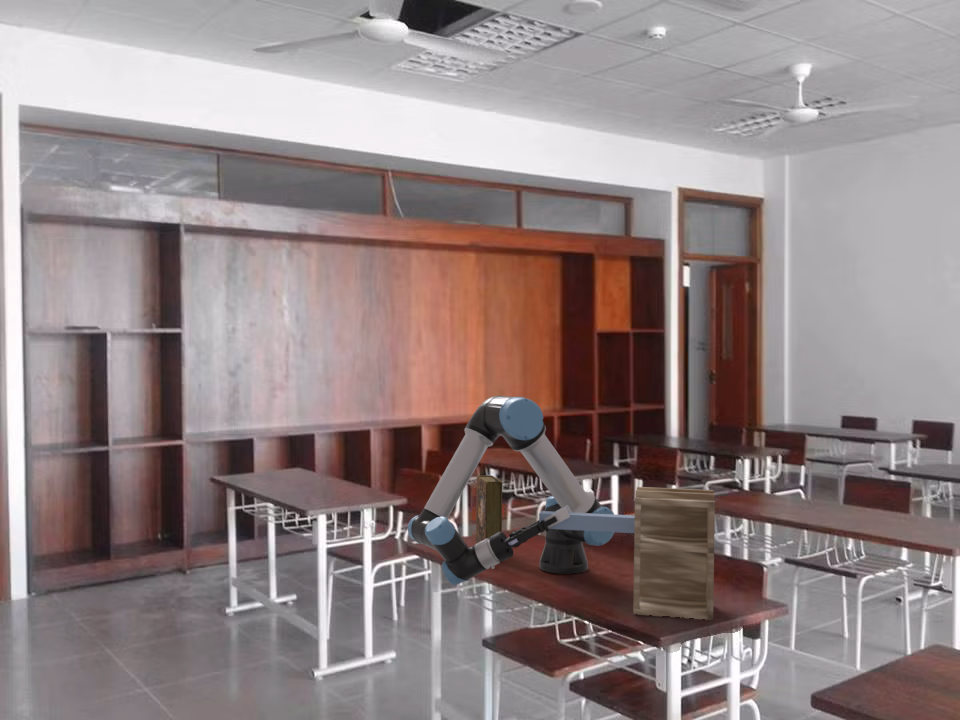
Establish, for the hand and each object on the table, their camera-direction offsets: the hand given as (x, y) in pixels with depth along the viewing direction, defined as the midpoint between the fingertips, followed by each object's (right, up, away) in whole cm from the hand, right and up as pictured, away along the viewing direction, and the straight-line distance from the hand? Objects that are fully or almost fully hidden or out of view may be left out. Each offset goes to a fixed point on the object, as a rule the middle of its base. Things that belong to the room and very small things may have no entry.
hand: (568, 511), depth 242 cm
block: (+5, -5, -1) cm, 7 cm away
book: (-21, -25, +62) cm, 70 cm away
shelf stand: (+27, -25, -6) cm, 37 cm away
